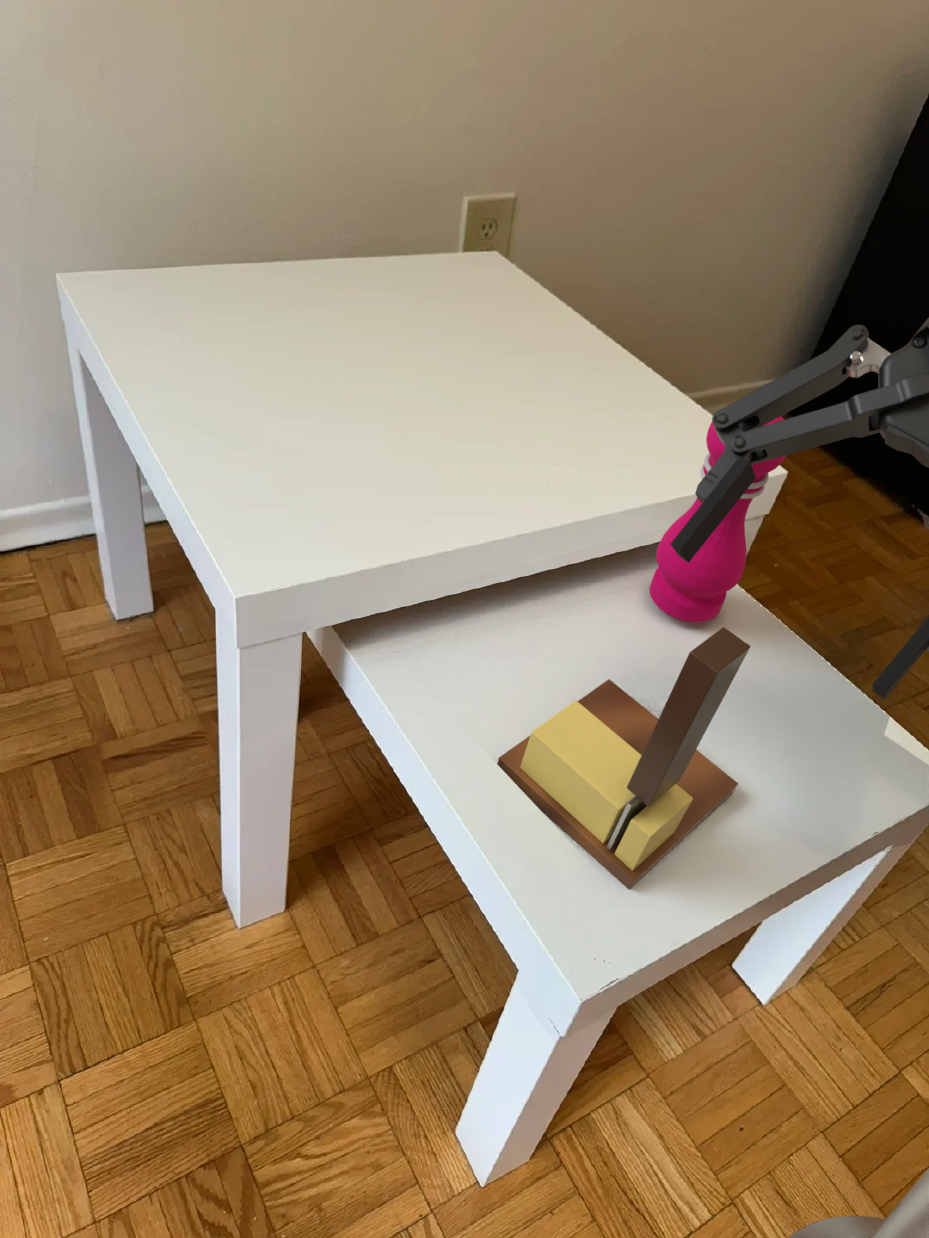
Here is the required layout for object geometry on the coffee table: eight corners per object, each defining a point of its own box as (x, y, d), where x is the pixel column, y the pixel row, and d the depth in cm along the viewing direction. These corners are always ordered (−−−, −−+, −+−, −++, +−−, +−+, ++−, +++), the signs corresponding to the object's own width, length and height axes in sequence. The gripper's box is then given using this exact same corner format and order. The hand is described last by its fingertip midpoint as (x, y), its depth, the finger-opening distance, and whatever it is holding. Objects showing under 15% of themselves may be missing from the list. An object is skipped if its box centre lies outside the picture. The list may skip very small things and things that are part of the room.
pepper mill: (661, 561, 84) (735, 356, 70) (736, 595, 82) (827, 390, 68) (630, 602, 79) (704, 390, 66) (710, 639, 77) (803, 428, 63)
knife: (663, 818, 62) (759, 639, 50) (618, 858, 59) (708, 679, 47) (642, 800, 62) (731, 620, 50) (597, 839, 60) (680, 658, 48)
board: (731, 795, 66) (738, 783, 65) (627, 893, 59) (633, 881, 58) (603, 691, 71) (608, 678, 70) (494, 770, 64) (498, 757, 63)
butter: (674, 832, 61) (693, 798, 58) (632, 871, 59) (650, 837, 56) (562, 735, 66) (576, 699, 63) (519, 768, 63) (531, 731, 60)
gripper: (1233, 453, 49) (969, 764, 51) (828, 260, 60) (623, 522, 62) (1289, 393, 42) (983, 754, 44) (821, 187, 53) (592, 484, 55)
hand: (772, 619), depth 53 cm, fingers open, 13 cm apart
